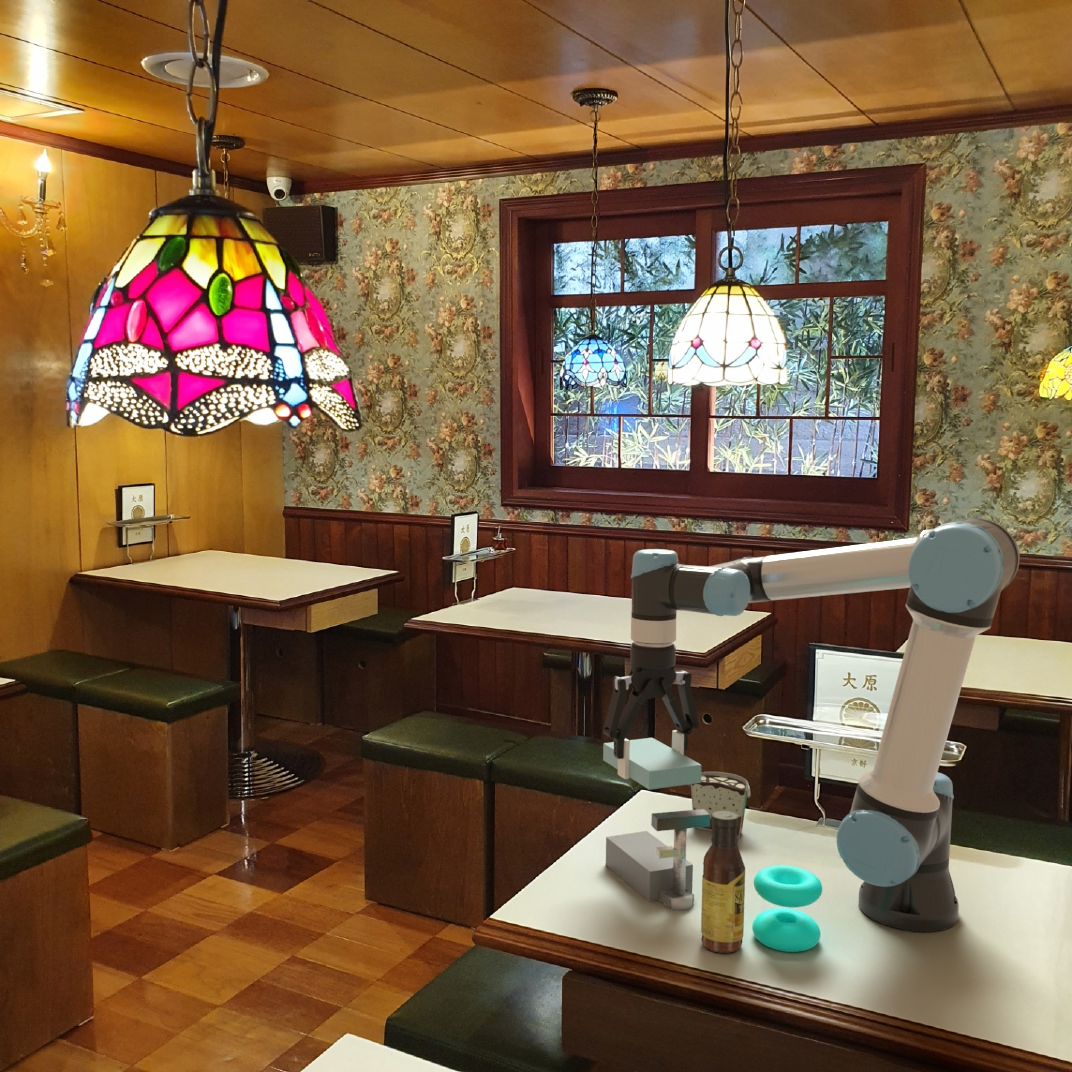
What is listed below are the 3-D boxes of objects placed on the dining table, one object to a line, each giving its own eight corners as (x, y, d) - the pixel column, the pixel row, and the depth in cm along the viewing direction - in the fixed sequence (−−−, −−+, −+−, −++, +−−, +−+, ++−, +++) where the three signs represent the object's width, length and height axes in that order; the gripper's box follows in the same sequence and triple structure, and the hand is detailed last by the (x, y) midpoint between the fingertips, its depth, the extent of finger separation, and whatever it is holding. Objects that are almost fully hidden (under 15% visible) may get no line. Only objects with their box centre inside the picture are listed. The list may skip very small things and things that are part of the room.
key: (701, 886, 178) (703, 809, 177) (707, 892, 176) (710, 814, 174) (649, 891, 176) (651, 813, 174) (655, 898, 173) (657, 819, 172)
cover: (701, 782, 178) (701, 764, 178) (649, 789, 174) (649, 771, 174) (651, 754, 193) (652, 737, 193) (603, 760, 189) (603, 743, 189)
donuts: (804, 860, 169) (834, 886, 159) (801, 921, 170) (832, 952, 160) (743, 865, 167) (771, 892, 157) (741, 927, 168) (768, 958, 158)
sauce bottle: (742, 957, 158) (746, 825, 156) (699, 953, 160) (702, 821, 158) (743, 937, 165) (747, 809, 163) (701, 932, 166) (705, 806, 164)
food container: (759, 828, 209) (760, 778, 208) (747, 839, 204) (748, 787, 203) (699, 816, 216) (700, 766, 215) (686, 825, 211) (688, 775, 210)
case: (707, 905, 175) (707, 875, 175) (663, 913, 172) (664, 883, 172) (646, 858, 194) (646, 830, 194) (605, 864, 191) (606, 836, 191)
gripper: (699, 634, 189) (696, 759, 191) (583, 642, 181) (581, 774, 183) (722, 642, 182) (719, 772, 185) (602, 651, 174) (600, 787, 176)
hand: (650, 773), depth 184 cm, fingers closed on cover, 10 cm apart
